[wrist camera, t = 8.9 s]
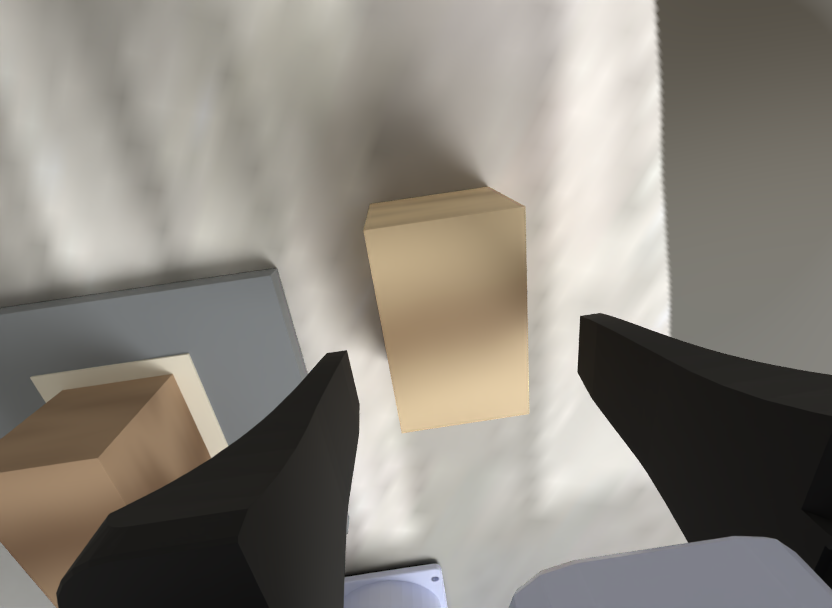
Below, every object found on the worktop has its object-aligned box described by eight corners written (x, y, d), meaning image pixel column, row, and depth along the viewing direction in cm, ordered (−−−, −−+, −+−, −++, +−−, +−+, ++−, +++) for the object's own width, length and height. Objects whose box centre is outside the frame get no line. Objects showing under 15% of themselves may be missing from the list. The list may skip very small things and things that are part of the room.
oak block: (496, 348, 20) (529, 413, 15) (398, 363, 20) (401, 433, 15) (487, 186, 17) (525, 206, 12) (369, 203, 17) (363, 230, 12)
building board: (349, 518, 24) (347, 535, 23) (84, 558, 24) (71, 576, 22) (277, 267, 17) (270, 276, 16) (-90, 321, 17) (-120, 332, 16)
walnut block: (230, 498, 21) (186, 601, 16) (136, 513, 21) (66, 619, 16) (172, 373, 18) (97, 457, 13) (62, 390, 18) (-52, 480, 13)
